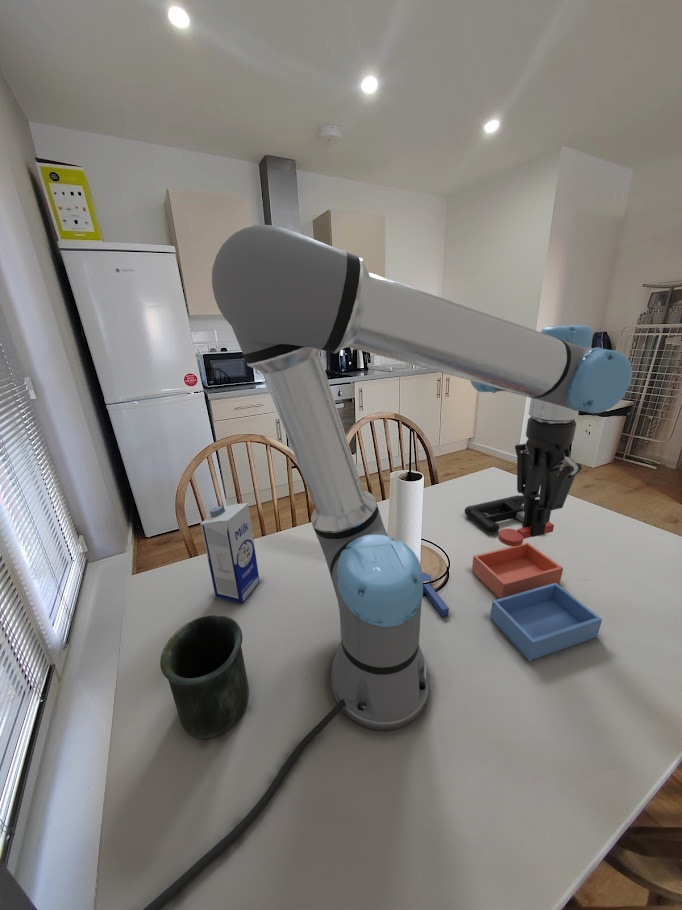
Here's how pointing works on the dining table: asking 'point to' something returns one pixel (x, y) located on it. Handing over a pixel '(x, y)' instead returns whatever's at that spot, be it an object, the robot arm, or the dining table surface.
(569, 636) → the blue bin
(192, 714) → the dark green pot
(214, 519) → the milk carton
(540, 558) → the red bin
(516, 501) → the door handle
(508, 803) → the dining table surface
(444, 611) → the blue spoon
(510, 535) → the red spoon
